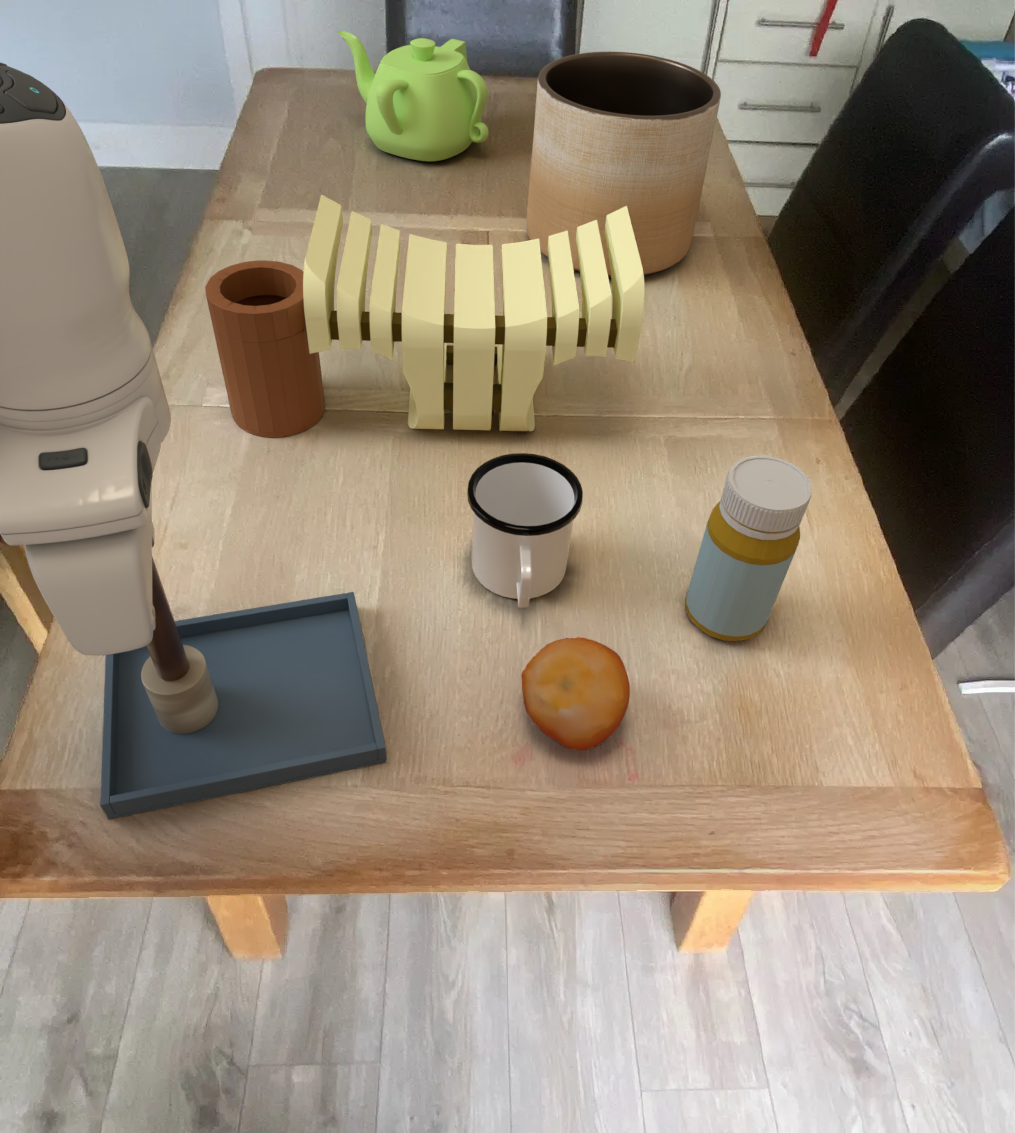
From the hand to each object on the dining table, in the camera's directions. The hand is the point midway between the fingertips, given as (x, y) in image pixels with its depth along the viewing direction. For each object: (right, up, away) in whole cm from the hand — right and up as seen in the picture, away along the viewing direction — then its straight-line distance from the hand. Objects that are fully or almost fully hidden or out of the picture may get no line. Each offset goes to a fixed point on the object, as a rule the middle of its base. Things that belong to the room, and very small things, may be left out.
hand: (141, 582), depth 57 cm
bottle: (+42, -3, +20) cm, 46 cm away
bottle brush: (-1, -10, +10) cm, 14 cm away
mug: (+24, 0, +22) cm, 33 cm away
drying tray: (+3, -9, +12) cm, 15 cm away
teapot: (+9, +67, +84) cm, 108 cm away
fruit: (+28, -11, +12) cm, 32 cm away
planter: (+37, +44, +64) cm, 86 cm away
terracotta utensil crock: (0, +17, +36) cm, 40 cm away
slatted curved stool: (+19, +19, +39) cm, 48 cm away
